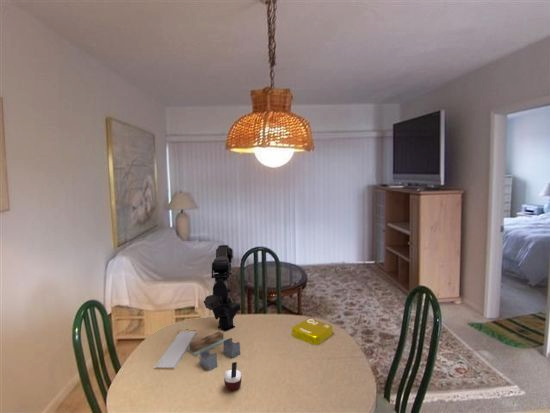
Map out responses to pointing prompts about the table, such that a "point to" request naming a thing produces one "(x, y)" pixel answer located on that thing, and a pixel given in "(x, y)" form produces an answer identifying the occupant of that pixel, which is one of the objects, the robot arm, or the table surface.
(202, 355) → the grey notched block
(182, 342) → the baseboard
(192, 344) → the rail
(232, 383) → the cupcake
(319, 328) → the element tile
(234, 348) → the grey block
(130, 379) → the table surface
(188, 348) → the mat
